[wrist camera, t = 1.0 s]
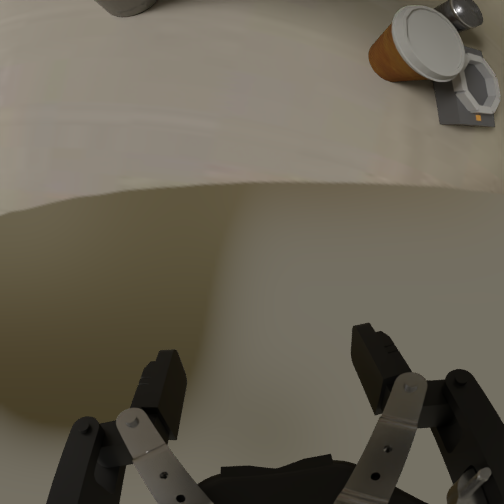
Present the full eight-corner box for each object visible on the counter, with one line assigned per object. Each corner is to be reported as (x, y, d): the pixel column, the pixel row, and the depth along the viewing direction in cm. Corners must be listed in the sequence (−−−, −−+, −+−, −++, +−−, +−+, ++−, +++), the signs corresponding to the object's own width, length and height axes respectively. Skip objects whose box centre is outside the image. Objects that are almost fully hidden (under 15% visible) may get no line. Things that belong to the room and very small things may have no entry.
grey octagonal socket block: (424, 48, 30) (450, 37, 23) (463, 56, 29) (490, 49, 23) (438, 124, 34) (467, 123, 27) (475, 126, 33) (504, 127, 27)
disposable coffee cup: (377, 20, 28) (418, -12, 17) (426, 65, 31) (477, 49, 19) (344, 59, 31) (382, 31, 20) (397, 106, 33) (449, 98, 22)
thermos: (420, 8, 27) (451, -10, 18) (444, 14, 27) (476, -1, 18) (428, 35, 29) (463, 21, 20) (452, 41, 29) (487, 29, 20)
